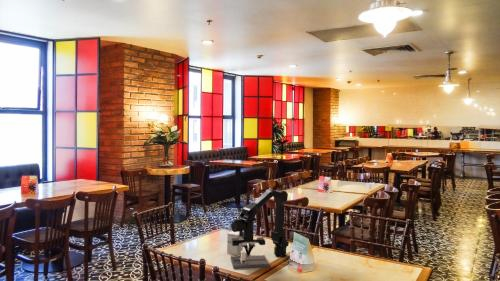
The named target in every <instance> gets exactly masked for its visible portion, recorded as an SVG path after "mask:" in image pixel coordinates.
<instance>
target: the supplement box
mask: <svg viewBox="0 0 500 281" xmlns="http://www.w3.org/2000/svg"><path fill="white" fill-rule="evenodd" d="M232 238H238V239H239V240H243V239H242V237H239V231H238V232H233V231H232V230H231V231H230V232H227V238H226V239H227V240H226V242H227V244H226V254H229V255H233V256H238V255H239V256H240V255H241V251H242V250H243V251H244V247H242V245H241V243H239V245H238V246H232V243H231V240H232Z"/></svg>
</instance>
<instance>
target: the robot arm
mask: <svg viewBox="0 0 500 281" xmlns="http://www.w3.org/2000/svg"><path fill="white" fill-rule="evenodd" d="M272 197H273V201H274V203H275V217H274V218H275V219H274V220H275V222H274V229H272V230H271V233H270V239H271V241H272V244H273V245H274V247H273V248H274V249H273V251H274V252H273V255H275V257H276V258H277V257H279V258H280V257H282V258H283V257H288V254H287V247H288V246H289V244H290V242H289V241H288V240H287V238H286V233H285V230H284V218H285V205H286V204H287V202H288V197H289V193H288V192H287V190H282V189H276V190H274V189H270V188H267V189H266V190H265V191H264V192H263V193H262V194H261V195H260V196H259V197H257V199H256V200H254V201H253V202H252V203H248V204H246V205H245V206H244V207H243V208H242V210H241V212H240V213H239V216H238V218H234V219H233V221H232V222H231V224H230V229H231V231H233V232H239V237H242V239H243V240H239V239H238V238H232V240H231V243H232V246H238V245H239V243H241V245H242V247H243V249H244V251H245V255H246V256H247V257H249V256H251V255H250V254H251V252H252V251H253V248H256V244H259V246H265V245H266V240H265V238H264V237H263V236H262V237H256V239H254V235H255V234H254V232H255V230H254V229H255V228H254V226H255V222H257V221H258V220H257V218H256V216H257V214H258V212H259V211H260V209H261V208H262V207H263V206H264V205H265V204H266V203H268V201H269V200H271V199H272Z"/></svg>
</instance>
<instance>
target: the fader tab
mask: <svg viewBox="0 0 500 281" xmlns="http://www.w3.org/2000/svg"><path fill="white" fill-rule="evenodd" d="M240 256H241V260H242V261H245V256H246V250H244V249H243V250H242V251H241V253H240Z"/></svg>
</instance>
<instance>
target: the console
mask: <svg viewBox="0 0 500 281" xmlns="http://www.w3.org/2000/svg"><path fill="white" fill-rule="evenodd" d="M230 263H231V266H232V268H233V270H236V269H237V270H239V269H260V268H261V269H263V268H264V269H265V268H270V263H269V261H268V259H267V257H266V255H264V254H261V255H249V257H247V255H245V261H242V260H241V255H239V256H238V255H233V256H230Z"/></svg>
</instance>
